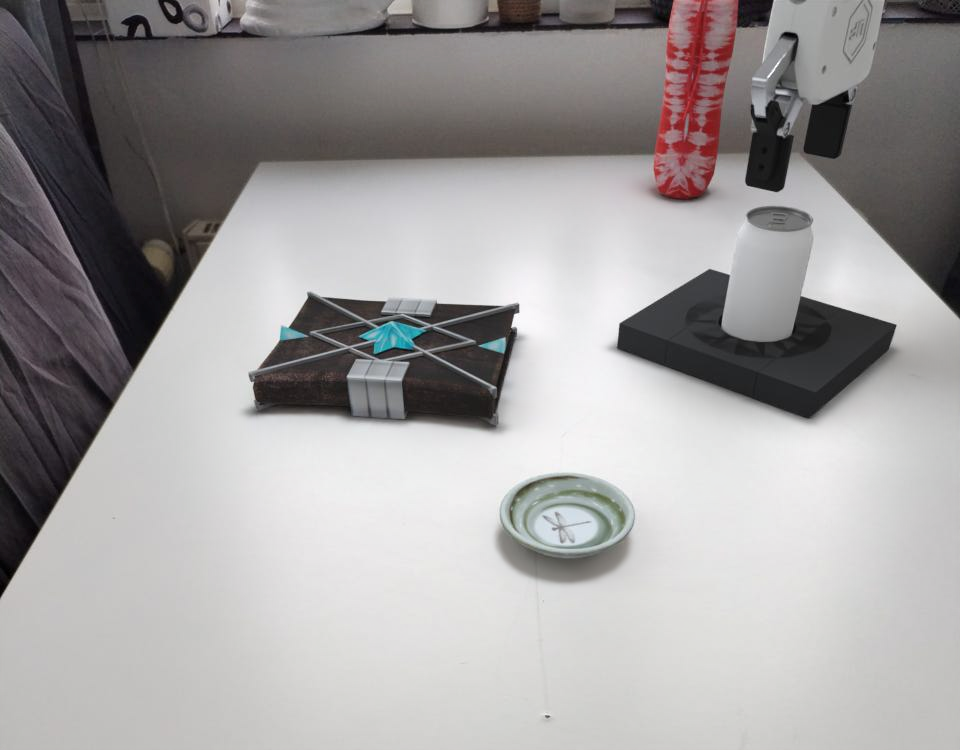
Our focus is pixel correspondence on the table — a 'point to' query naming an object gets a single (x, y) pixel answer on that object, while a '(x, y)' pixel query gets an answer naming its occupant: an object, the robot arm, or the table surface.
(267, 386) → the book
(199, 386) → the table surface
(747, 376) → the pad
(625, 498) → the saucer
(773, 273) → the can
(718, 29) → the red tall rounded piece
